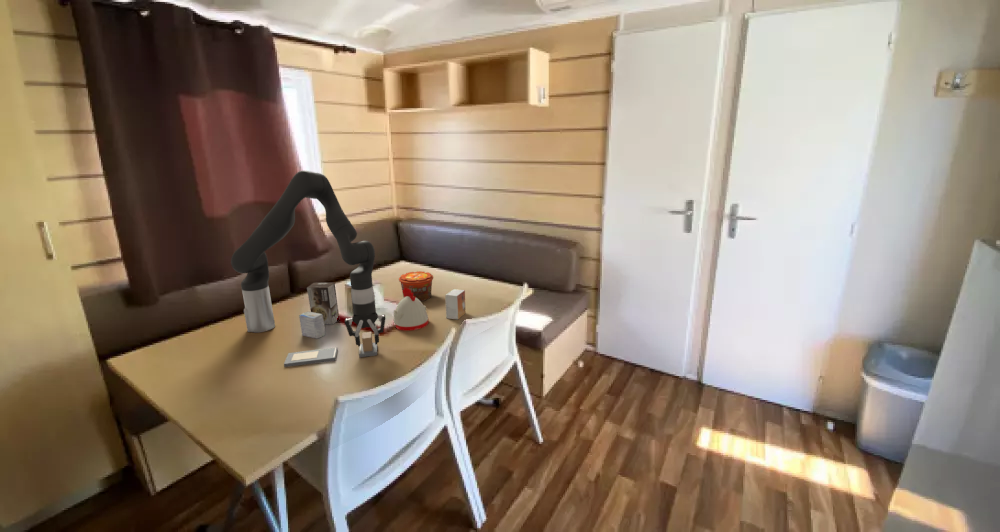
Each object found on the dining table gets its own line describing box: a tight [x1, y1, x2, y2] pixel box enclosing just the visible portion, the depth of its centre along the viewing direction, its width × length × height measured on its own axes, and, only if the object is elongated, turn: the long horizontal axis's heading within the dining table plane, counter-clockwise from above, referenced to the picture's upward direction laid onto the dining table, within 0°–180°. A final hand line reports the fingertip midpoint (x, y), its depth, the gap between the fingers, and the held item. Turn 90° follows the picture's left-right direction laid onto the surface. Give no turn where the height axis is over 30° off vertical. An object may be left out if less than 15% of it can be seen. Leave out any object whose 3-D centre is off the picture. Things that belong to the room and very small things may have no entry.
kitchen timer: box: [393, 288, 429, 331], centre depth 177 cm, size 14×14×15 cm
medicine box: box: [298, 311, 326, 340], centre depth 168 cm, size 8×4×9 cm, turn 65°
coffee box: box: [306, 282, 340, 325], centre depth 180 cm, size 9×6×16 cm
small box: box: [444, 288, 466, 320], centre depth 185 cm, size 8×6×10 cm
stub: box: [358, 331, 378, 358], centre depth 155 cm, size 6×8×6 cm
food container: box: [398, 270, 434, 302], centre depth 207 cm, size 16×16×11 cm
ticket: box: [283, 346, 338, 368], centre depth 151 cm, size 16×8×1 cm, turn 105°
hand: (367, 344), depth 155 cm, fingers open, 5 cm apart
